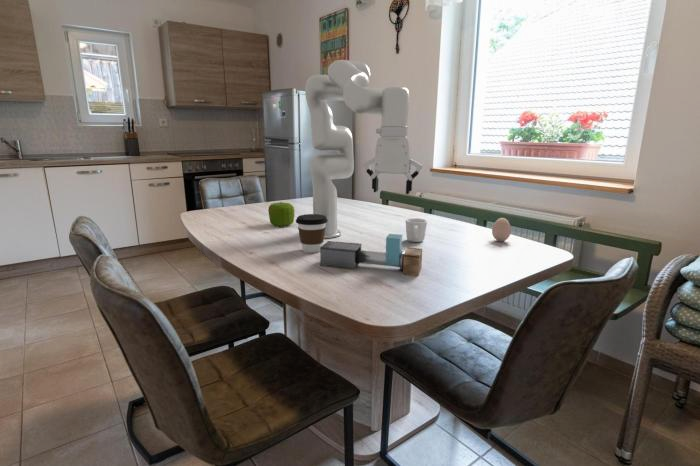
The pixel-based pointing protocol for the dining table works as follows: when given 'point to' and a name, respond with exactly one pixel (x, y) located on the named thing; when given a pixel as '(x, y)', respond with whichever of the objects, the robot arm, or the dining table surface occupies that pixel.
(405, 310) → the dining table surface
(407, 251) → the cardboard box
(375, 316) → the dining table surface
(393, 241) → the plug
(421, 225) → the cup
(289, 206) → the apple
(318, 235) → the coffee cup
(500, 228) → the egg
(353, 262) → the sleeve
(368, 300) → the dining table surface
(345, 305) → the dining table surface
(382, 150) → the robot arm
